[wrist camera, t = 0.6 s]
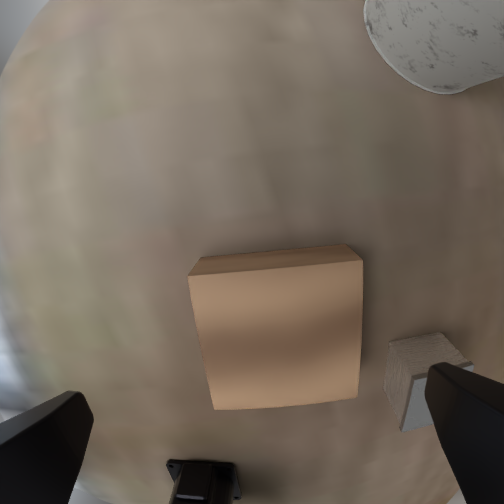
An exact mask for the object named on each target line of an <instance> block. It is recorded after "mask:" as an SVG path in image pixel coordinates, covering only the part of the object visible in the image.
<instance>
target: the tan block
mask: <svg viewBox="0 0 504 504" xmlns="http://www.w3.org/2000/svg"><path fill="white" fill-rule="evenodd" d="M187 278H188V283H189V289H190V295H191V300H192V306H193V311H194V317H195V322H196V327H197V332H198V337H199V342H200V347H201V352H202V357H203V361H204V366H205V371H206V375H207V380H208V384H209V389H210V393H211V397H212V402H213V406H214V410H231V409H256V408H272V407H285V406H296V405H305V404H314V403H322V402H330V401H337V400H344V399H350V398H357V394H358V383H359V371H360V357H361V339H362V314H363V260H362V259H361V258H360V257H359V256H358V255H357V254H356V253H355V252H354V251H353V250H352V249H351V248H350V247H349V246H347V245H346V244H341V245H331V246H320V247H309V248H298V249H288V250H277V251H266V252H255V253H244V254H234V255H223V256H212V257H201V258H200V259H199V261H198V262H197V263H196V265H195V266H194V268H193V269H192V270H191V272H190V273H189V275H188V276H187Z"/></svg>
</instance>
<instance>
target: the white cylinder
mask: <svg viewBox="0 0 504 504" xmlns="http://www.w3.org/2000/svg"><path fill="white" fill-rule="evenodd" d="M363 11H364V23H365V26H366V29H367V32H368V36H369V37H370V39H371V41H372V43H373V45H374V47H375V49H376V50H377V51H378V53H379V54H380V55H381V57H382V58H383V59H384V61H385V62H386V63H387V64H388V65H389V66H390V67H391V68H392V69H393V70H394V71H395V72H396V73H397V74H399V75H400V76H402V77H403V78H404V79H406V80H407V81H408V82H410V83H411V84H413V85H415V86H417V87H419V88H421V89H423V90H426V91H430V92H433V93H437V94H454V93H459V92H462V91H464V90H465V89H467V88H470V87H472V86H475V85H478V84H481V83H484V82H487V81H490V80H494V79H497V78H500V77H503V76H504V0H365V4H364V9H363Z"/></svg>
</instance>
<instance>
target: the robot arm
mask: <svg viewBox="0 0 504 504" xmlns="http://www.w3.org/2000/svg"><path fill="white" fill-rule="evenodd" d="M424 395H425V400H426V403H427V406H428V409H429V411H430V414H431V417H432V420H433V423H434V426H435V429H436V432H437V435H438V438H439V441H440V443H441V446H442V448H443V451H444V453H445V455H446V457H447V459H448V462H449V464H450V466H451V468H452V470H453V473H454V475H455V477H456V480H457V482H458V484H459V487H460V489H461V491H462V494H463V496H464V498H465V501H466V503H467V504H504V384H502V383H500V382H497V381H494V380H492V379H489V378H486V377H484V376H481V375H478V374H476V373H473V372H471V371H468V370H465V369H463V368H460V367H458V366H455V365H452V364H450V363H447V362H440V363H436V364H433V365H431V366H430V367H429V370H428V375H427V380H426V386H425V391H424ZM93 422H94V418H93V414H92V411H91V409H90V407H89V405H88V403H87V401H86V399H85V397H84V395H83V394H82V393H81V392H78V391H67V392H65V393H63V394H61V395H58V396H56V397H54V398H52V399H50V400H48V401H46V402H44V403H42V404H40V405H38V406H36V407H34V408H32V409H30V410H28V411H25V412H23V413H21V414H19V415H17V416H15V417H13V418H11V419H8V420H6V421H4V422H2V423H0V504H68V502H69V499H70V496H71V493H72V491H73V488H74V485H75V482H76V480H77V477H78V474H79V472H80V469H81V466H82V462H83V459H84V455H85V451H86V448H87V444H88V440H89V437H90V433H91V429H92V426H93ZM166 466H167V469H168V471H169V473H170V475H171V477H172V479H173V481H174V487H173V491H172V494H171V498H170V501H169V504H232V502H233V500H240V499H241V496H242V495H241V491H240V487H239V482H238V478H237V474H236V470H235V466H234V465H233V464H230V463H202V462H185V461H173V460H169V461H167V463H166Z"/></svg>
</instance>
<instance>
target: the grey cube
mask: <svg viewBox="0 0 504 504" xmlns="http://www.w3.org/2000/svg"><path fill="white" fill-rule="evenodd" d="M440 362H447V363H450V364H452V365H455V366H458V367H460V368H463V369H465V370H468V371H471V372H472V371H473V368H474V364H473V363H472V362H471V361H469V362H468V361H467V360H466V358H465V357H464V356H463V355H462V354H461V353H460V352H459V351H458V350H457V349H456V348H455V347H454V346H453V345H452V344H451V343H450V342H449V340H448V339H447V338H446V337H445V336H444V335H443V334H442V333H441V332H438V333H433V334H428V335H423V336H418V337H412V338H406V339H401V340H395V341H389V348H388V357H387V364H386V372H385V379H384V385H383V390H384V392H385V394H386V396H387V398H388V400H389V402H390V404H391V406H392V408H393V410H394V412H395V415H396V417H397V419H398V421H399V423H400V427H399V428H400V430H401V432H405V431H409V430H413V429H417V428H421V427H425V426H428V425H432V424H434V423H433V420H432V417H431V414H430V411H429V409H428V406H427V403H426V400H425V395H424V391H425V386H426V380H427V375H428V370H429V367H430V366H431V365H433V364H436V363H440Z"/></svg>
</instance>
